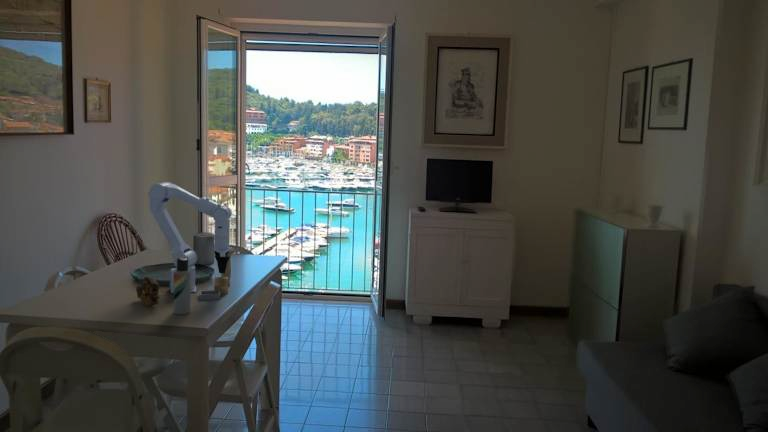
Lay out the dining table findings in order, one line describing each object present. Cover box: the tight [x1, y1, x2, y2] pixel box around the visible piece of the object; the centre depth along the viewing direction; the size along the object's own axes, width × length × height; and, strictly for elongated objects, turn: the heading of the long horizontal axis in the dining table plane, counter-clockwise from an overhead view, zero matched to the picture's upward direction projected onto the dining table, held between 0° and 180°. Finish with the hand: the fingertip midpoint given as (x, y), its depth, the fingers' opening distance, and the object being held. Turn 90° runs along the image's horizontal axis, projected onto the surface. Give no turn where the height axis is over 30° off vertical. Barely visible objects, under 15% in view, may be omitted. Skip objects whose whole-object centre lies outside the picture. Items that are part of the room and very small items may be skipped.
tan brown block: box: [213, 276, 229, 295], centre depth 243 cm, size 5×3×6 cm, turn 108°
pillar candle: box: [192, 231, 215, 266], centre depth 290 cm, size 10×10×15 cm
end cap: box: [199, 290, 221, 301], centre depth 236 cm, size 8×6×2 cm
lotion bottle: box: [173, 257, 192, 316], centre depth 215 cm, size 6×6×20 cm
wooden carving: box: [135, 276, 161, 306], centre depth 222 cm, size 16×5×10 cm, turn 47°
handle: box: [220, 248, 235, 286], centre depth 254 cm, size 5×6×15 cm
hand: (221, 270), depth 242 cm, fingers open, 7 cm apart
